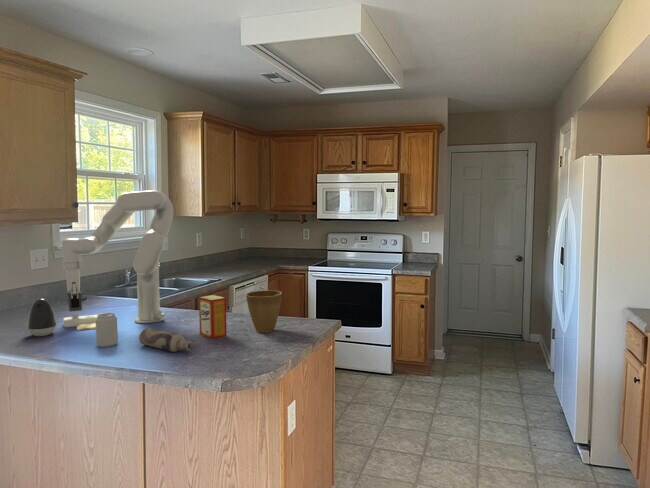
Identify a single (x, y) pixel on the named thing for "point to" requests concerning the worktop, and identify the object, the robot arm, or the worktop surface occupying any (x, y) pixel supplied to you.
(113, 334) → the can
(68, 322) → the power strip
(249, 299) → the plant pot
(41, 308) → the dark egg-shaped diffuser
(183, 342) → the decorative bottle
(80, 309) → the charger
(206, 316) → the baking soda box
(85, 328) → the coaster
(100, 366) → the worktop surface
